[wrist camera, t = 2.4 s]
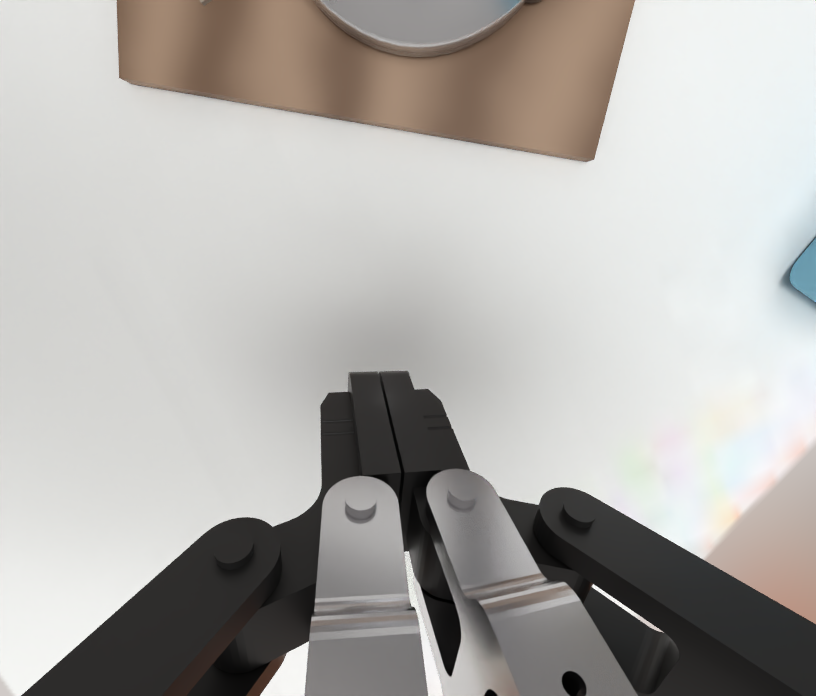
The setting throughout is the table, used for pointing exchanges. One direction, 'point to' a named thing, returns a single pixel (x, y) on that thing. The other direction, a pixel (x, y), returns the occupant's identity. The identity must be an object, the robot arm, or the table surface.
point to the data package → (805, 272)
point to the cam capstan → (420, 23)
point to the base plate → (390, 69)
